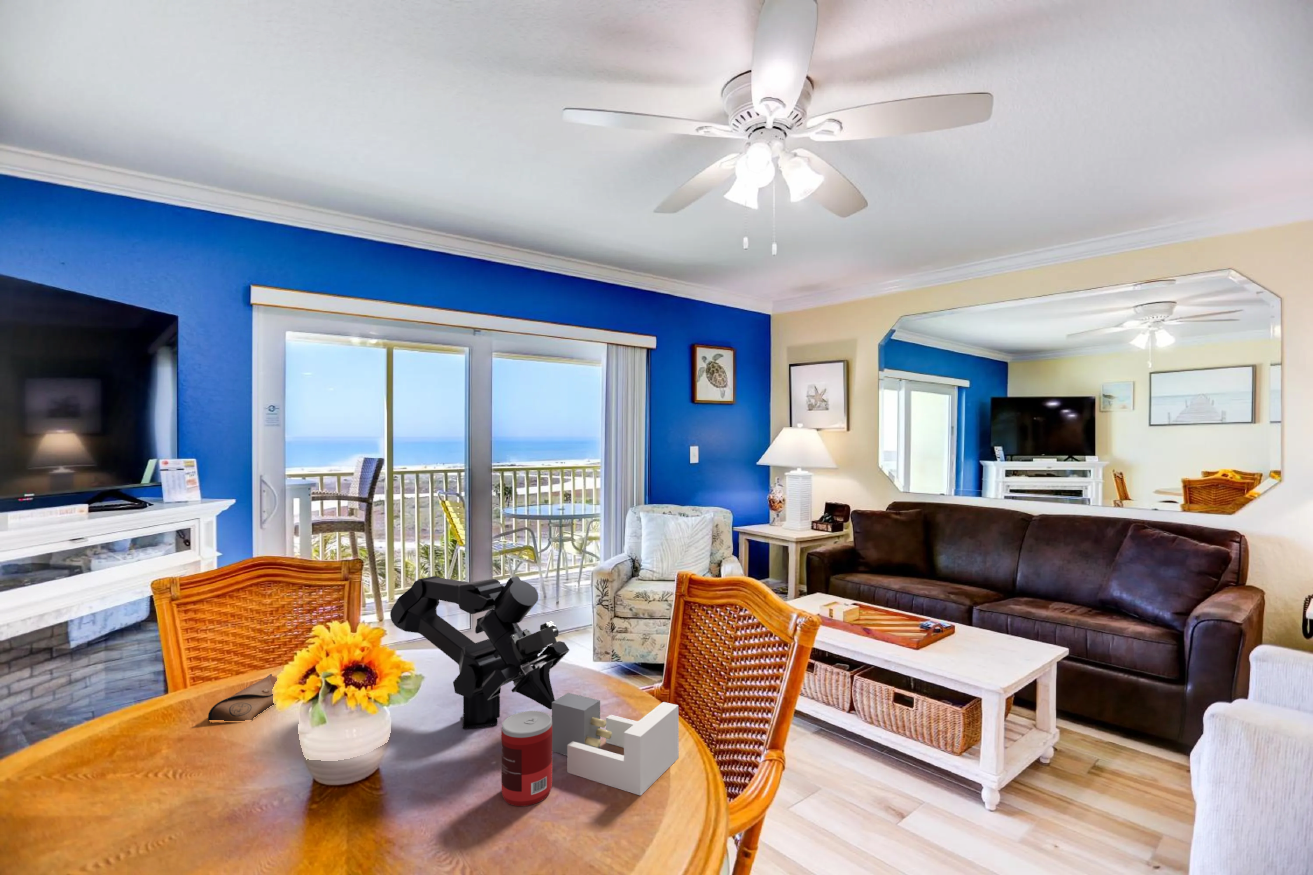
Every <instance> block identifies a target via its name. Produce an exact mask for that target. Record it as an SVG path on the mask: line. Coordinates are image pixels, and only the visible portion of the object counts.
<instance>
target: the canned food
mask: <svg viewBox="0 0 1313 875" xmlns="http://www.w3.org/2000/svg"><path fill="white" fill-rule="evenodd" d="M500 731H501V734H500V737H501V739H500V741H501V742H500V743H501V744H500V747H501V750H500V751H501V752H500V754H501V755H500V756H501V758H500V759H501V768H500V770H501V776H500V777H501V795H502V797H503V800H504V802H506V803H507V804H508V805H511V806H515V807H528V806H533V805H535V804H538V803H540V802H542V801H543V800H545V799H546V798H547V797H548V796H549V795H550V793H551V791H552V787H553V751H552V715H550V714H548V713H547V712H543V711H538V710H526V711H521V712H517V713H514V714H512V715H509V716H508V717H506V718H505V719H504V720H503V721H502V723H501V730H500ZM532 804H533V805H532Z"/></svg>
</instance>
